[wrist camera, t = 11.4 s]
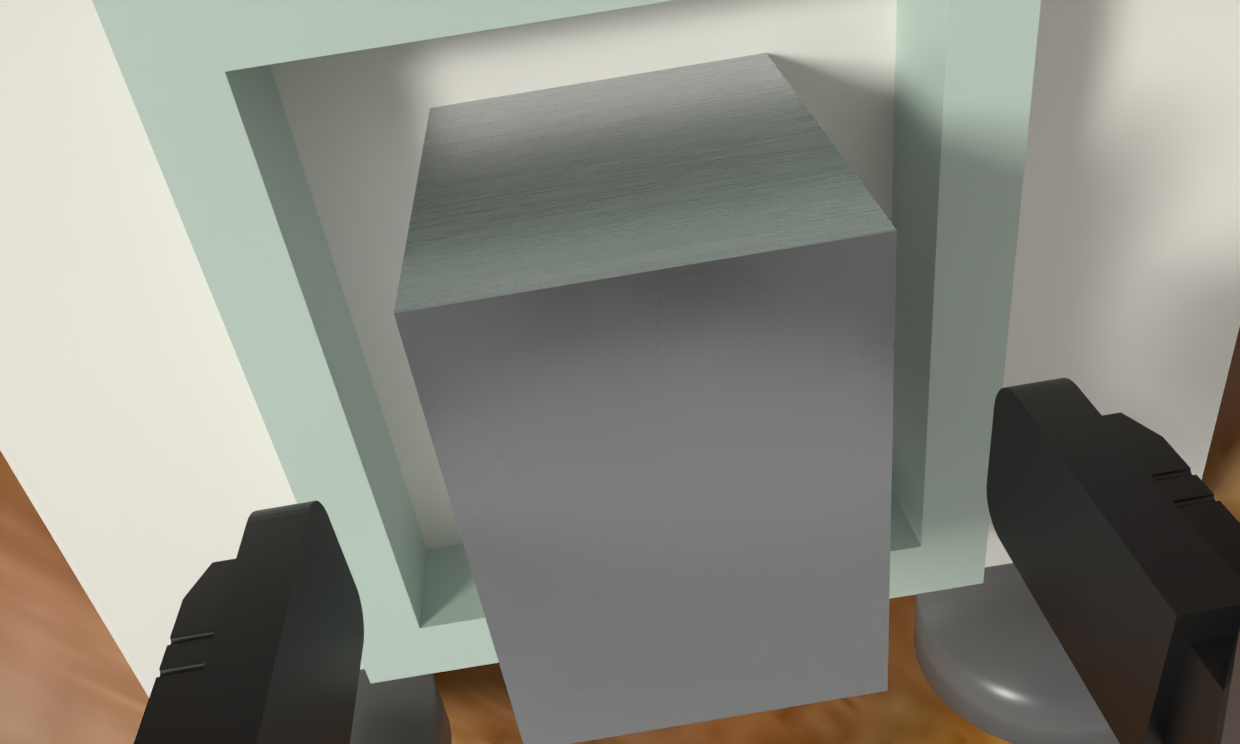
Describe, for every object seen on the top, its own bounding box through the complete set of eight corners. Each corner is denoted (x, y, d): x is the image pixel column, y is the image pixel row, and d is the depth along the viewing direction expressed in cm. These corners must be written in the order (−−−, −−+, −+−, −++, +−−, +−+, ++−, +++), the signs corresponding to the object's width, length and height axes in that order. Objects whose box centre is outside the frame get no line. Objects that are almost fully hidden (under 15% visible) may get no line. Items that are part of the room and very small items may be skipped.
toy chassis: (-354, -294, 13) (-767, -289, 9) (1374, -564, 13) (1786, -687, 9) (197, 694, 23) (132, 909, 19) (1139, 540, 24) (1275, 720, 19)
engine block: (430, 108, 15) (394, 313, 10) (766, 52, 15) (897, 230, 10) (519, 472, 19) (525, 751, 14) (786, 428, 19) (886, 690, 14)
